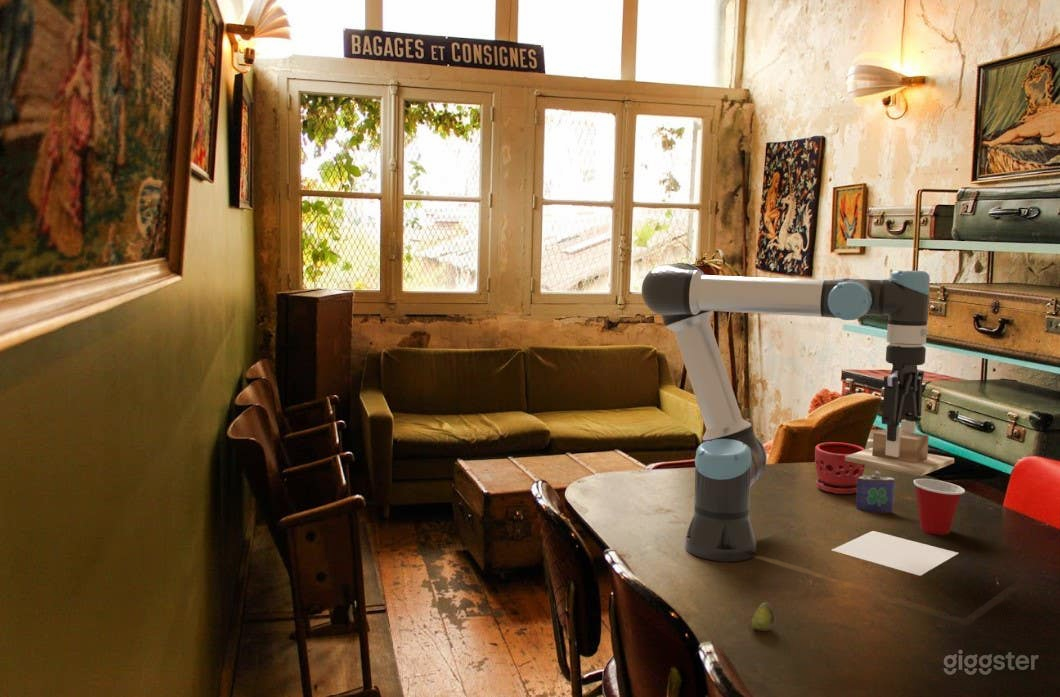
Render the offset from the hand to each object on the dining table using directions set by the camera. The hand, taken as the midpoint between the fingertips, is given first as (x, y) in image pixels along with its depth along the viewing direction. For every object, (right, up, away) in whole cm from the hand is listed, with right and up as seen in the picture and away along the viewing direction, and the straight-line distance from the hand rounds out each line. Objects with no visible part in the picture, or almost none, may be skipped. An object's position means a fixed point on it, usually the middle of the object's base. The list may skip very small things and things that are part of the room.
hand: (899, 453), depth 176 cm
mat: (0, -22, +3) cm, 23 cm away
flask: (+8, -19, +32) cm, 39 cm away
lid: (0, -2, 0) cm, 2 cm away
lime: (-38, -27, -33) cm, 57 cm away
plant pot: (+6, -17, +52) cm, 55 cm away
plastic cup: (+16, -21, +16) cm, 31 cm away
